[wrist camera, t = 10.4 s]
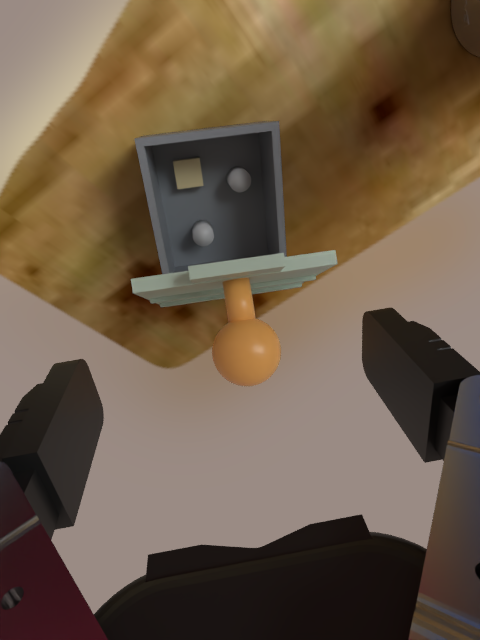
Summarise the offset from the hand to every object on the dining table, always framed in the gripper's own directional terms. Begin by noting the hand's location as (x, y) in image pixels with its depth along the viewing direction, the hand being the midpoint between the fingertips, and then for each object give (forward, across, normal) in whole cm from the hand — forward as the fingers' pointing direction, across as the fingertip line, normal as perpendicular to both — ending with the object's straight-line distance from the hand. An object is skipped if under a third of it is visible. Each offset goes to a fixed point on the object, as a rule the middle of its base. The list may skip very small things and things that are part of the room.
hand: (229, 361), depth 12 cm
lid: (+17, -1, +4) cm, 17 cm away
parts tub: (+31, -1, +1) cm, 31 cm away
